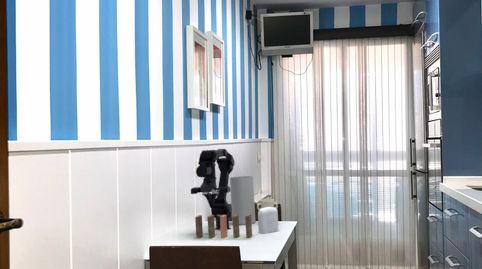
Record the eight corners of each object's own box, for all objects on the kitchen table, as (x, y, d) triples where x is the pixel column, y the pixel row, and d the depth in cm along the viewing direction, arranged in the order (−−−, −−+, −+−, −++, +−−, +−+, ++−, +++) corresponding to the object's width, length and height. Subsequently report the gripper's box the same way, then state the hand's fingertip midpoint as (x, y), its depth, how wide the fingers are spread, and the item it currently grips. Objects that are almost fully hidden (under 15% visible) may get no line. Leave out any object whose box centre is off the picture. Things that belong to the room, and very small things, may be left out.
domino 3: (233, 238, 231) (232, 216, 232) (236, 236, 236) (235, 214, 236) (236, 238, 231) (235, 216, 231) (239, 236, 236) (238, 214, 236)
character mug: (277, 222, 271) (276, 198, 271) (279, 224, 264) (278, 199, 264) (257, 224, 270) (255, 199, 270) (258, 226, 263) (257, 201, 263)
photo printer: (274, 230, 247) (273, 205, 247) (280, 231, 244) (278, 206, 244) (257, 234, 241) (256, 208, 242) (262, 235, 238) (261, 208, 238)
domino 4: (246, 238, 230) (245, 216, 230) (248, 236, 235) (247, 214, 235) (249, 238, 230) (248, 216, 230) (252, 236, 234) (251, 214, 235)
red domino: (221, 238, 233) (219, 216, 233) (224, 236, 238) (222, 214, 238) (224, 238, 233) (223, 216, 233) (227, 236, 237) (226, 214, 238)
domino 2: (208, 238, 234) (207, 216, 235) (211, 236, 239) (210, 215, 239) (211, 238, 234) (210, 216, 234) (215, 236, 239) (213, 215, 239)
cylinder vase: (244, 220, 284) (242, 176, 284) (260, 222, 275) (257, 176, 275) (227, 224, 275) (225, 178, 276) (243, 226, 266) (240, 178, 266)
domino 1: (196, 238, 236) (195, 217, 236) (199, 236, 241) (198, 215, 241) (199, 238, 236) (198, 217, 236) (203, 236, 240) (201, 215, 240)
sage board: (191, 241, 232) (190, 240, 232) (200, 235, 245) (200, 234, 245) (250, 241, 225) (250, 239, 225) (256, 235, 238) (256, 234, 238)
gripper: (185, 177, 241) (187, 210, 241) (223, 176, 237) (225, 209, 236) (193, 175, 252) (195, 207, 252) (229, 174, 247) (231, 206, 247)
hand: (211, 207), depth 247 cm, fingers closed
